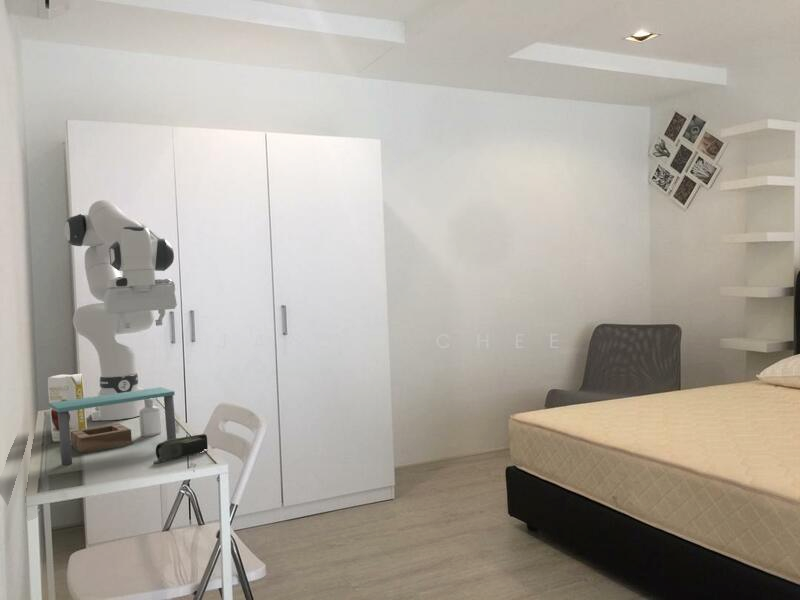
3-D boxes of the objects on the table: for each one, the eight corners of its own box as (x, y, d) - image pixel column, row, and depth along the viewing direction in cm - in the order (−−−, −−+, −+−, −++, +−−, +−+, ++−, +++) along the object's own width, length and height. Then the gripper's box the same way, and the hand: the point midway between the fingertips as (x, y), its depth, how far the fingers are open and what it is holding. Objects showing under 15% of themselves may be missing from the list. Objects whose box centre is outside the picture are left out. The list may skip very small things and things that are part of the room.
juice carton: (65, 436, 208) (60, 373, 208) (91, 435, 207) (86, 372, 206) (48, 442, 201) (43, 377, 200) (75, 442, 199) (70, 376, 199)
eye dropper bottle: (160, 435, 202) (157, 394, 201) (140, 437, 200) (137, 396, 200) (161, 432, 206) (158, 392, 206) (141, 434, 204) (138, 394, 204)
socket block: (71, 445, 195) (70, 431, 195) (119, 436, 203) (118, 423, 203) (81, 453, 185) (80, 438, 185) (132, 443, 193) (131, 429, 192)
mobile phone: (203, 432, 181) (148, 443, 170) (209, 433, 179) (154, 444, 168) (203, 451, 181) (149, 463, 170) (210, 452, 179) (155, 465, 168)
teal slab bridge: (53, 457, 182) (49, 403, 181) (164, 437, 199) (160, 387, 198) (62, 466, 172) (58, 408, 171) (178, 443, 189) (174, 391, 189)
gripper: (170, 279, 213) (174, 323, 213) (100, 282, 201) (104, 330, 201) (177, 278, 208) (181, 323, 208) (106, 281, 196) (110, 330, 196)
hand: (143, 327), depth 205 cm, fingers open, 8 cm apart
